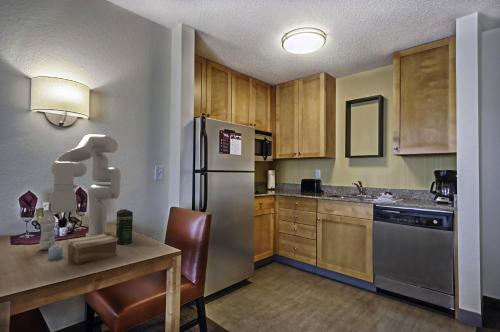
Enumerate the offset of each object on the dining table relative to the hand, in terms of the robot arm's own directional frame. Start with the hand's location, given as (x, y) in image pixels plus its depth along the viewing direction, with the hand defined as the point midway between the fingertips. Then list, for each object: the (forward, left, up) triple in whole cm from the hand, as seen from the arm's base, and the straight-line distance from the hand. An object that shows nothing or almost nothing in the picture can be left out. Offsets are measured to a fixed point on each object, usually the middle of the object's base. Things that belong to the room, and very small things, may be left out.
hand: (62, 227), depth 123 cm
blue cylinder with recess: (-1, -2, -14) cm, 14 cm away
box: (+11, +9, -14) cm, 20 cm away
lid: (+11, +9, -7) cm, 16 cm away
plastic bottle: (-19, 0, -14) cm, 24 cm away
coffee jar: (-2, +31, -14) cm, 34 cm away
